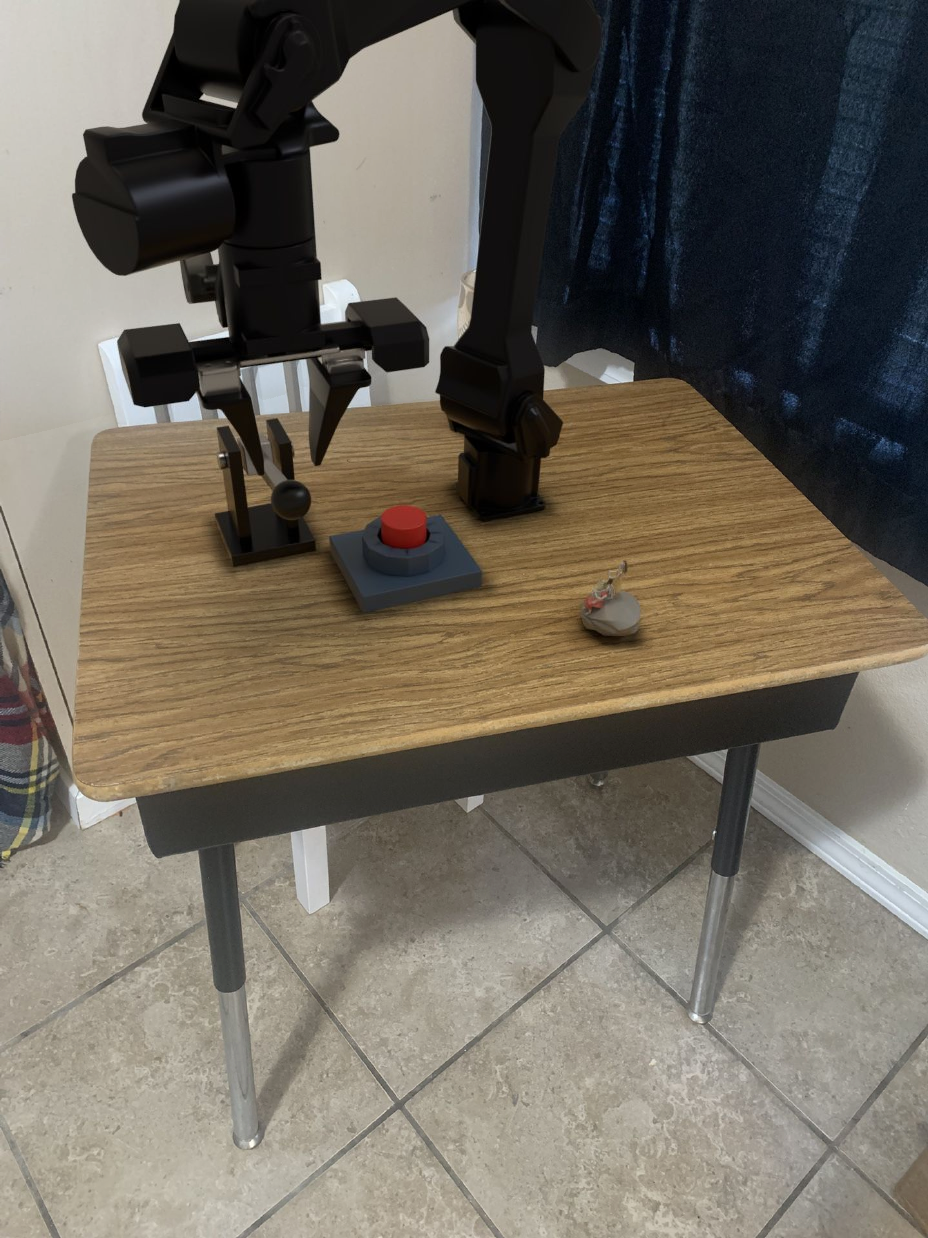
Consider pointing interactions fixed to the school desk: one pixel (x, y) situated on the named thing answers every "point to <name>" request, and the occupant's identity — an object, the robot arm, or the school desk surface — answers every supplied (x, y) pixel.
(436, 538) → the button block
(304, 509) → the lever handle
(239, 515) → the lever bracket
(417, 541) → the red button
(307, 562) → the school desk surface
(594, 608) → the figurine
